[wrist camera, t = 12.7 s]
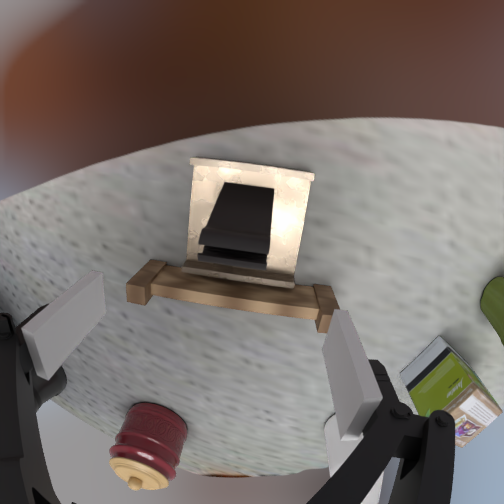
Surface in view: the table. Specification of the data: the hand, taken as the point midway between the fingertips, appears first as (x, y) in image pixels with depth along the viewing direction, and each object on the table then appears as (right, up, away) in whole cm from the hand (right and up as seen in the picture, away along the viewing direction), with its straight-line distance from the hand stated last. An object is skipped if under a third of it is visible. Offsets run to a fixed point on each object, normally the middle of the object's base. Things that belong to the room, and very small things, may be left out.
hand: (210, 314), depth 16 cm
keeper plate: (+1, +7, +21) cm, 23 cm away
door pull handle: (0, -1, +24) cm, 24 cm away
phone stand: (+1, +7, +21) cm, 22 cm away
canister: (-17, -31, +36) cm, 51 cm away
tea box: (+36, -18, +28) cm, 49 cm away
